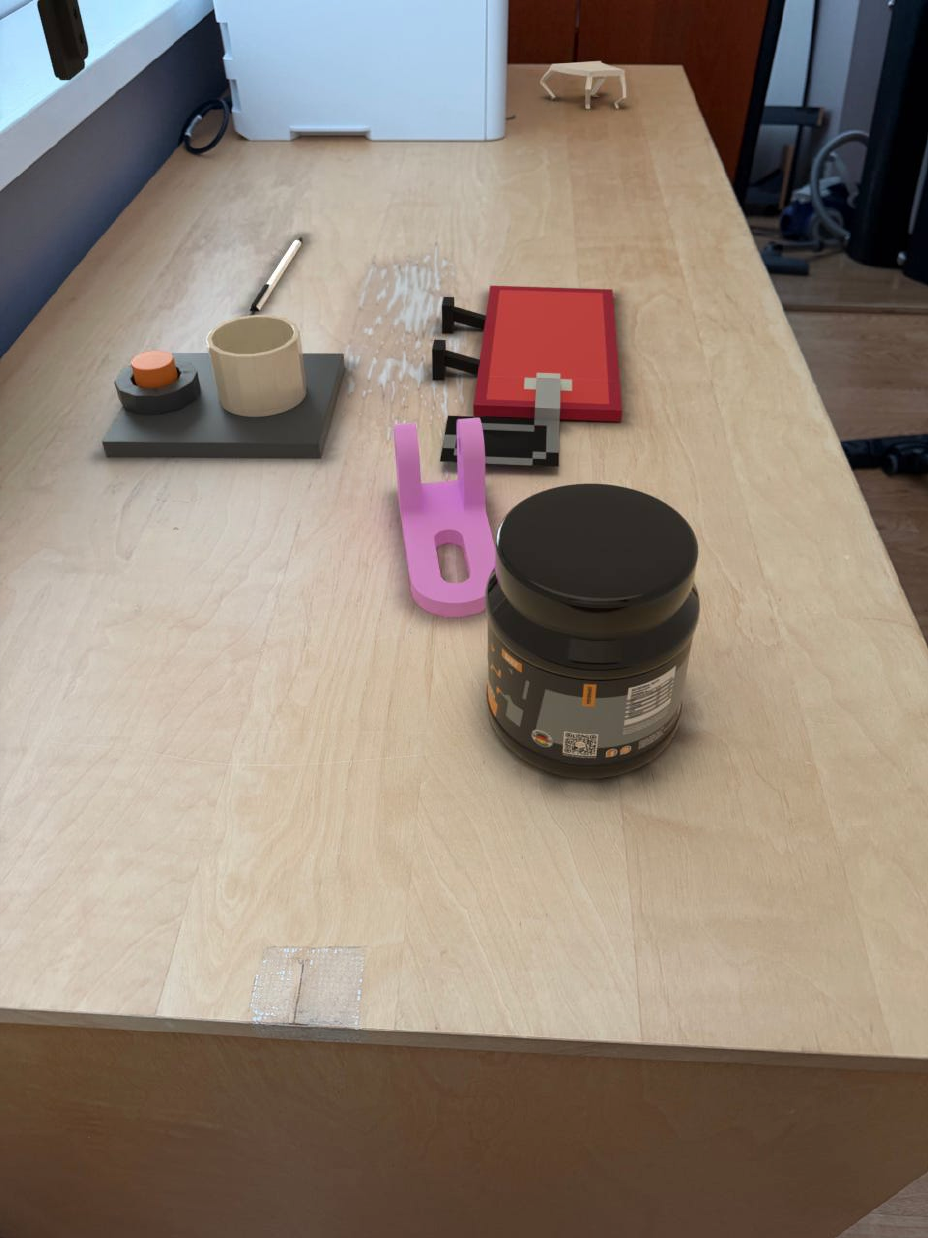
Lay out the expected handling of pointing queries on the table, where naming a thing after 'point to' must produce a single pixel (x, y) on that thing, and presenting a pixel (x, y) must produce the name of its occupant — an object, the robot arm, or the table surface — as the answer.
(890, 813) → the table surface
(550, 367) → the red board with handle
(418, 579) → the bracket
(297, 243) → the pen
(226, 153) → the table surface
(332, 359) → the dark grey flat block
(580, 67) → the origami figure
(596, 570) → the supplement container
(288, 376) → the cup
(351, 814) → the table surface
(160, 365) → the button
